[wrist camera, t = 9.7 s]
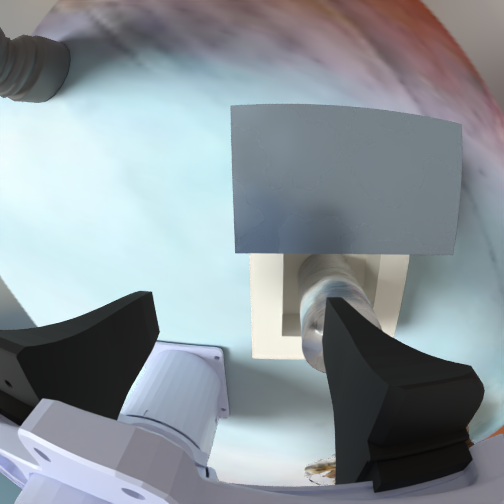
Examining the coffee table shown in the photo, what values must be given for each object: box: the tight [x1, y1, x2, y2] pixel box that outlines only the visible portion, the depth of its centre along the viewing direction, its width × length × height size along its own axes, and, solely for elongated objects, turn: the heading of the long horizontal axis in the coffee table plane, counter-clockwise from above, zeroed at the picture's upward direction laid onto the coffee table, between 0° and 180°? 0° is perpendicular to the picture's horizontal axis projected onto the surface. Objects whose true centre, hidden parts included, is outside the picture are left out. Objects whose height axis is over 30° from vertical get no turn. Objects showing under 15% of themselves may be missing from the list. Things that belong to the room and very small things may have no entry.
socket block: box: [249, 253, 410, 359], centre depth 20 cm, size 10×10×4 cm
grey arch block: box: [231, 104, 462, 255], centre depth 15 cm, size 6×10×9 cm, turn 91°
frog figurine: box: [304, 454, 336, 485], centre depth 29 cm, size 12×12×4 cm
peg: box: [297, 254, 382, 373], centre depth 17 cm, size 4×4×8 cm
